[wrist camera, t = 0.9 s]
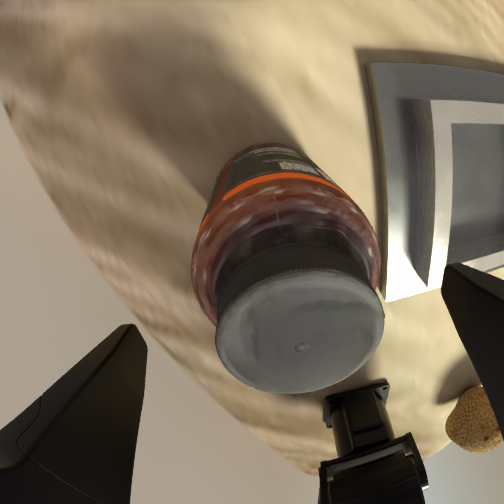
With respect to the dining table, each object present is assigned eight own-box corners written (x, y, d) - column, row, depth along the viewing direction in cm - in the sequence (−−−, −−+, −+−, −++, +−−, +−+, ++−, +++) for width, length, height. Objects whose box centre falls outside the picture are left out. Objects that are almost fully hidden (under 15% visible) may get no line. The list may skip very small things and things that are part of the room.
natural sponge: (503, 369, 27) (532, 420, 18) (463, 409, 31) (485, 460, 22) (473, 367, 25) (507, 431, 17) (428, 412, 29) (450, 473, 21)
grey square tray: (518, 253, 18) (538, 270, 16) (381, 293, 20) (396, 320, 17) (527, 81, 11) (554, 85, 9) (364, 64, 13) (387, 58, 10)
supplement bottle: (240, 255, 18) (233, 429, 8) (198, 165, 16) (111, 287, 6) (334, 222, 17) (420, 374, 7) (302, 125, 15) (409, 178, 5)
